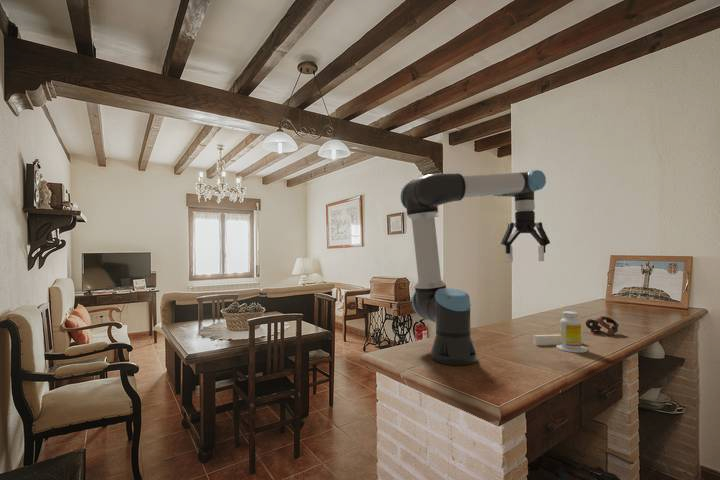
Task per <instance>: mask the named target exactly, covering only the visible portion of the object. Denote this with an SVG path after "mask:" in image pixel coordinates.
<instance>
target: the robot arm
mask: <svg viewBox="0 0 720 480" xmlns="http://www.w3.org/2000/svg"><path fill="white" fill-rule="evenodd" d="M546 183H547V178H546V174H545V172H543V171H542V170H541V169H540V170H539V169H535V170H530V171H526V172H525V171H523V172H522V171H521V172H509V173H508V172H505V173H493V174H489V173H488V174H478V175H477V174H476V175H475V174H474V175H472V174H471V175H462V174H461V173H429V174H426V175H423V176H421V177H418V178H415V179H412V180H410V181H409V182H408V183H406V184H405V185H404V186H403V187H402V189H401V192H400V202H401V204H402V206H403V207H404V208H405V209H406V216H407V217H408V218H409V219H411V224H412V233H413V234H412V235H413V244H414V252H415V253H414V254H415V262H416V263H415V264H416V272H417V279H418V281H417V283H416V284H415V286H414V291H415V292H414V293H413V295H412V297H411V306H412V308H413V311H414V312H415V313H416V314H417V315H418V316H419V317H421V319H424V320H428V321H431V322H433V323H435V338H434V341H433V343H432V346H431V350H430V357H431V359H432V360H433V361H434V362H436V363H440V364H443V365H448V366H449V365H450V366H469V365H472V364H475V363H476V362H477V352H476V348H475V346H474V342H473V340H472V336H471V331H472V329H471V305H472V304H471V298H470V295H469V293H468V292H466V291H464V290H461V289H455V288H452V287H451V288H450V287H449V288H447V285H446V283H445V282H444V281H443V279H442V277H441V267H440V258H439V256H440V255H439V247H438V239H437V230H436V228H437V227H436V220H435V219H436V218H435V217H436V215H437V214H438V213H439V209H438V208H439V206H441V205H444V204H447V203H451V202H460V201H462V200H463V199H464V198H473V197H484V196H494V197H499V198H500V197H510V198H511V197H512V198H514V211H515V212H514V218H515V222H508V223H507V229H506V231H505V233H504V234H503V238H502V239H501V241H500V245H503V246H504V247H505V254H507V262H510V263H512V262H513V257H514V256H513V255H514V254H513V245H512V244H513V243H514V241H515V240H516V239H517V238H518V237H519V235H521V234H529V235H531V236H532V237H533V238H534V239H535V241H536V242H537V243H538V244H539V245H538V254H537V255H538V262H545V254H546V247H547V246H548V245H550V244H551V241H550V239H549V237H548V235H547V233H546V231H545V229H544V227H543V222H542V221H539V222H535V220H536V216H535V215H536V213H535V211H534V210H535V208H536V207H535V192H536V191H541V190H542V189H543V188H544V187H545V186H546ZM514 228H515V230H514V232H513V229H514ZM535 228H536V229H537V230H536V229H535ZM512 232H513V233H512Z"/></svg>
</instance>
